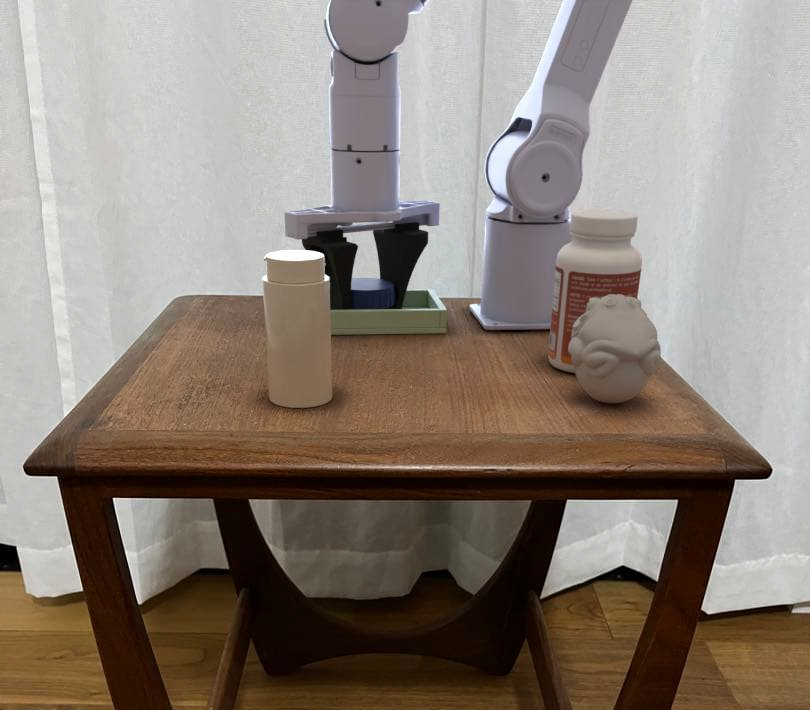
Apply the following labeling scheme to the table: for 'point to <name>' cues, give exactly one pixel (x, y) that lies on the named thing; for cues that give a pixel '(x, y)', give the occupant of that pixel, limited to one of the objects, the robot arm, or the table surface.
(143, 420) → the table surface
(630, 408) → the table surface
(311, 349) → the jar
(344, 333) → the tray
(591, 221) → the pill bottle
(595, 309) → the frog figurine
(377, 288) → the lid
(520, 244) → the robot arm
